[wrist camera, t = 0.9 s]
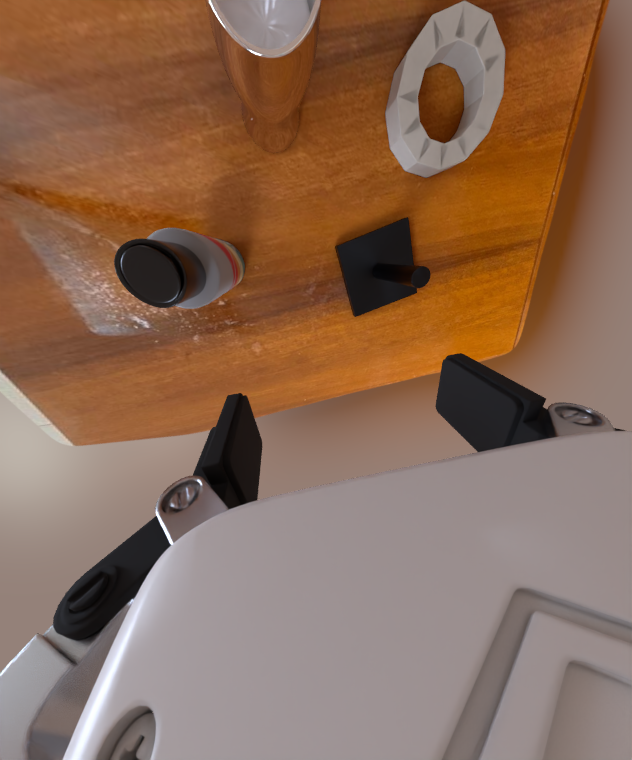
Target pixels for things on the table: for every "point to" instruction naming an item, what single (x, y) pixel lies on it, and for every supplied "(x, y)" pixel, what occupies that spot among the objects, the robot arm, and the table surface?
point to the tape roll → (477, 73)
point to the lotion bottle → (178, 268)
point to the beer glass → (267, 61)
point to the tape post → (380, 267)
